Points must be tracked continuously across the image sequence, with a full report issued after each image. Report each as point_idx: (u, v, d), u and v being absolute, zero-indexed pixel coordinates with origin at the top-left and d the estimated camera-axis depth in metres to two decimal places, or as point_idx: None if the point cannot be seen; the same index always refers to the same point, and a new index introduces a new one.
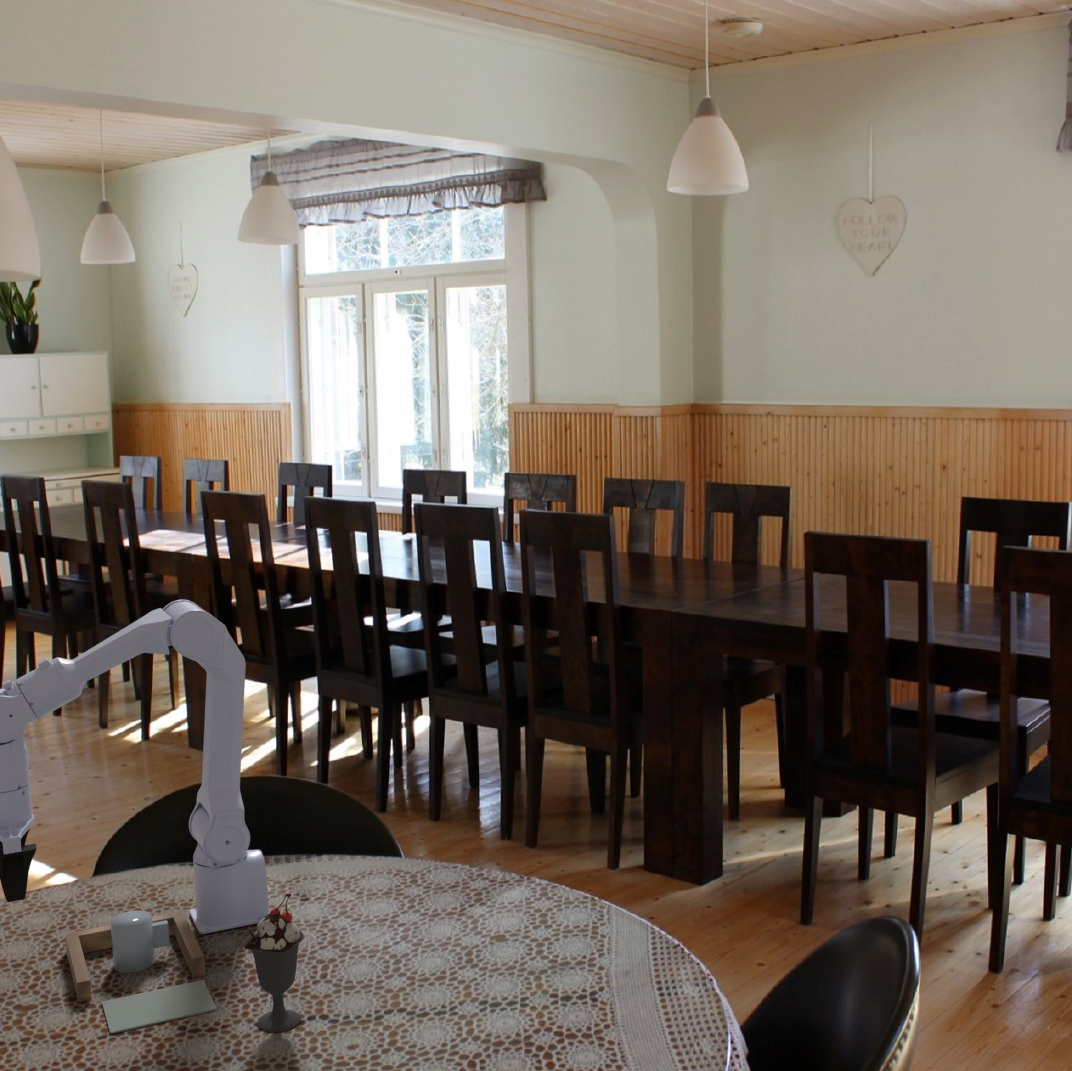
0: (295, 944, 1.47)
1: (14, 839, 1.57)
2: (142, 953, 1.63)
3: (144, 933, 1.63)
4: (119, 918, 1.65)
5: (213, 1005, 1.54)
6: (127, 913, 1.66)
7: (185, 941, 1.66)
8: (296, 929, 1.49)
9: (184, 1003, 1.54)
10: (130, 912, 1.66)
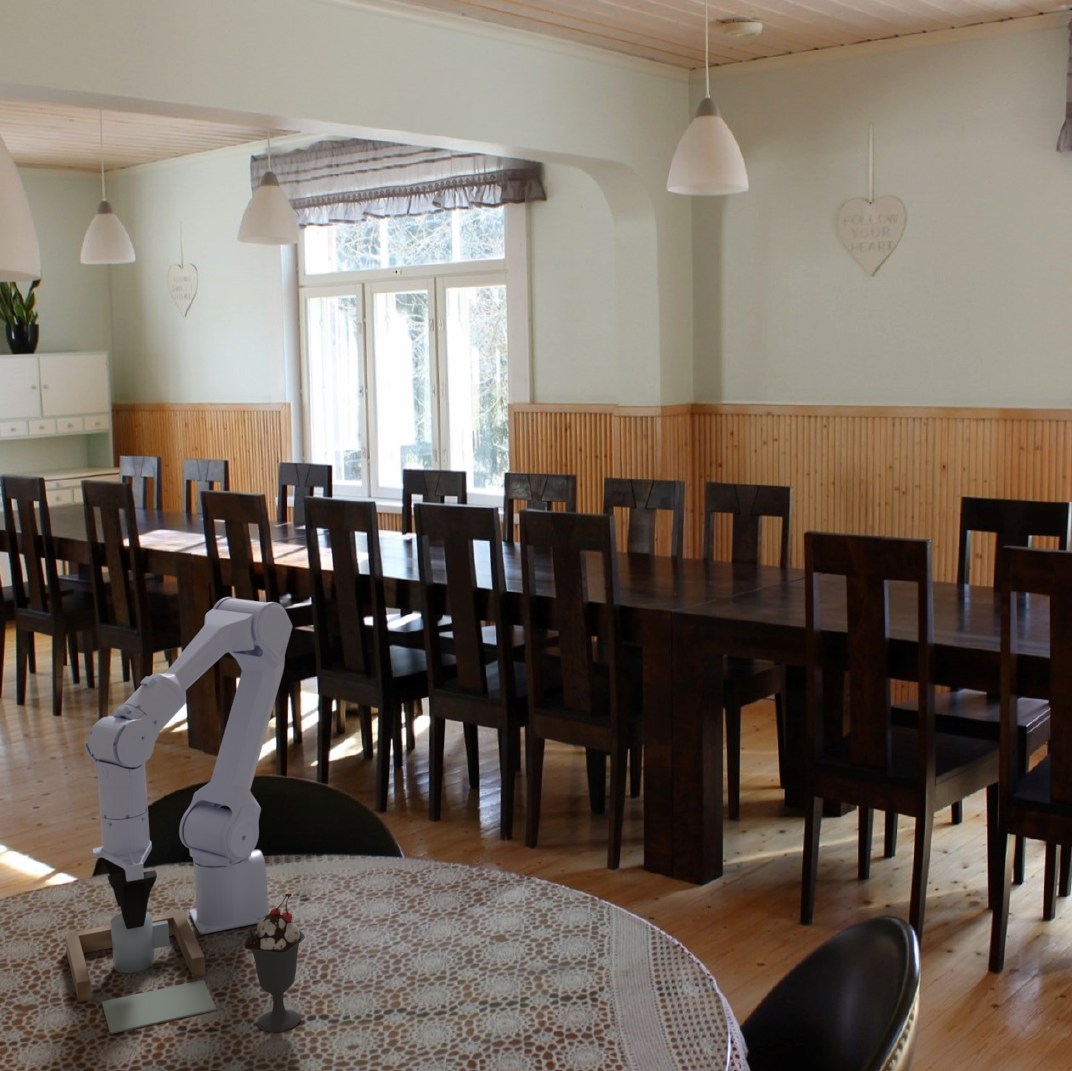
0: (295, 944, 1.47)
1: (137, 866, 1.57)
2: (142, 954, 1.63)
3: (144, 933, 1.63)
4: (119, 918, 1.65)
5: (213, 1005, 1.54)
6: None
7: (185, 941, 1.66)
8: (296, 929, 1.49)
9: (184, 1003, 1.54)
10: None
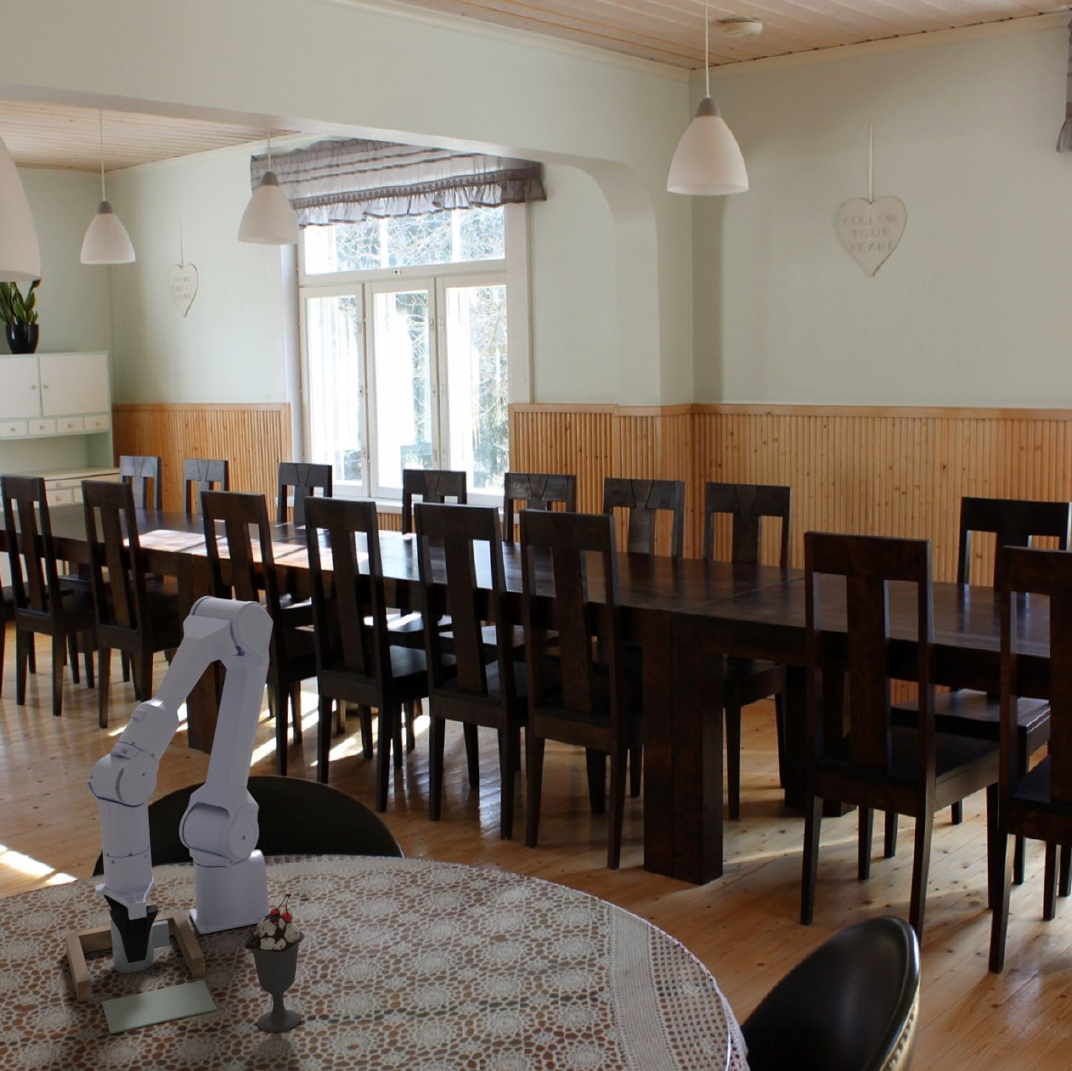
0: (295, 944, 1.47)
1: (140, 904, 1.58)
2: None
3: None
4: None
5: (213, 1005, 1.54)
6: None
7: (185, 941, 1.66)
8: (296, 929, 1.49)
9: (184, 1003, 1.54)
10: None
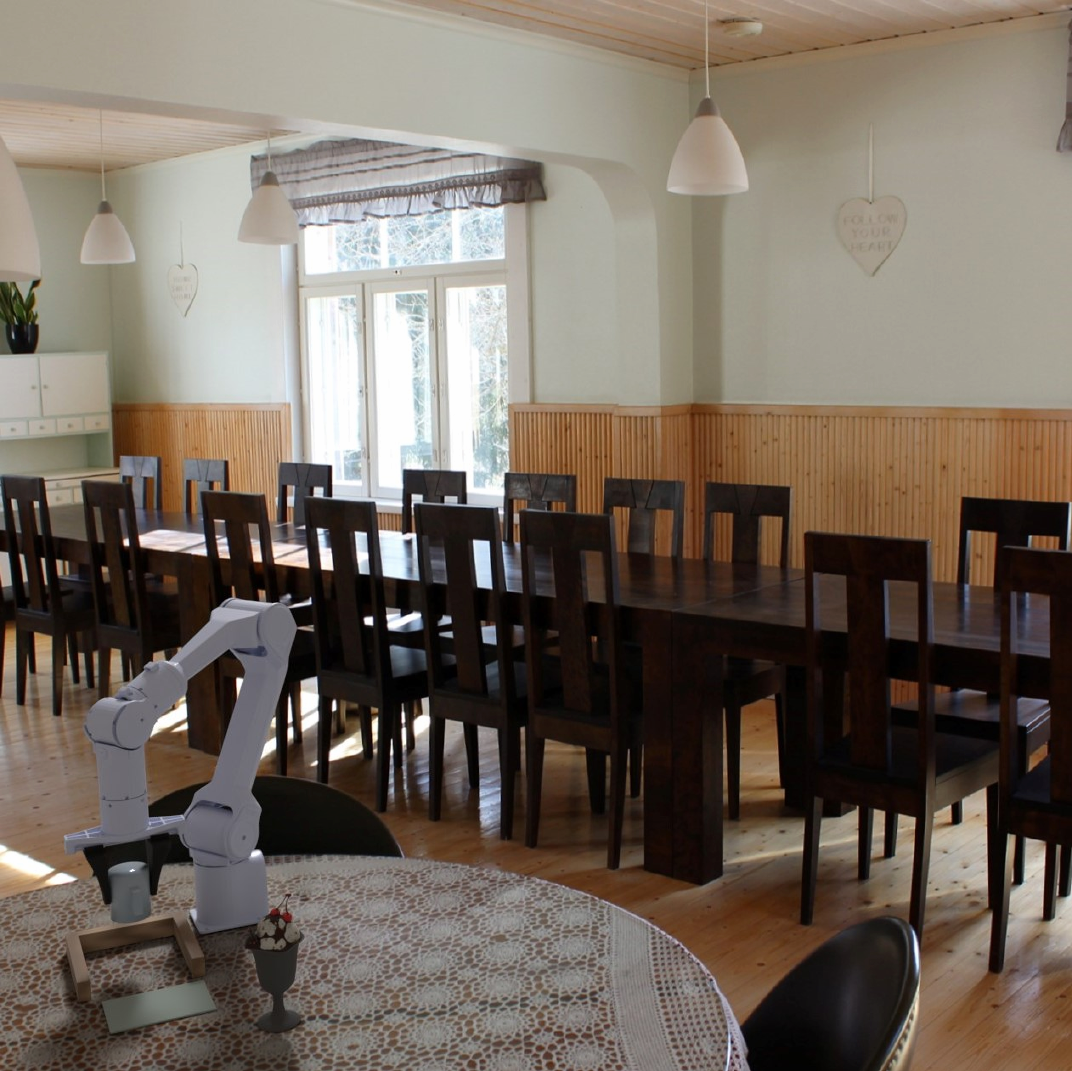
0: (295, 944, 1.47)
1: (65, 840, 1.59)
2: (112, 905, 1.62)
3: (113, 886, 1.61)
4: (131, 864, 1.65)
5: (213, 1005, 1.54)
6: (143, 865, 1.65)
7: (185, 941, 1.66)
8: (296, 929, 1.49)
9: (184, 1003, 1.54)
10: (145, 866, 1.64)
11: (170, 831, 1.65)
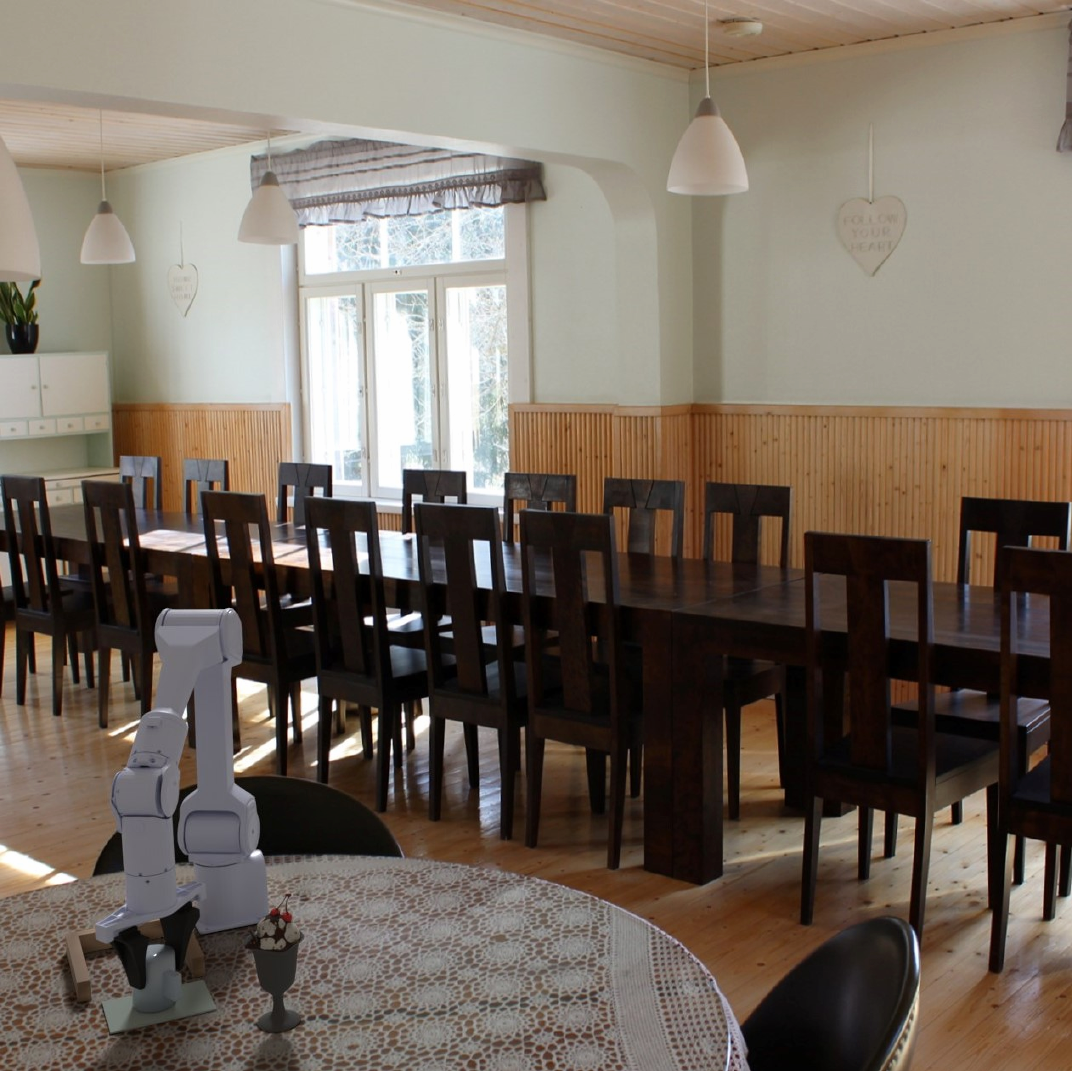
0: (295, 944, 1.47)
1: (102, 928, 1.46)
2: (141, 994, 1.52)
3: None
4: (149, 948, 1.55)
5: (213, 1005, 1.54)
6: (165, 947, 1.55)
7: None
8: (296, 929, 1.49)
9: (184, 1003, 1.54)
10: (167, 948, 1.55)
11: (190, 899, 1.57)
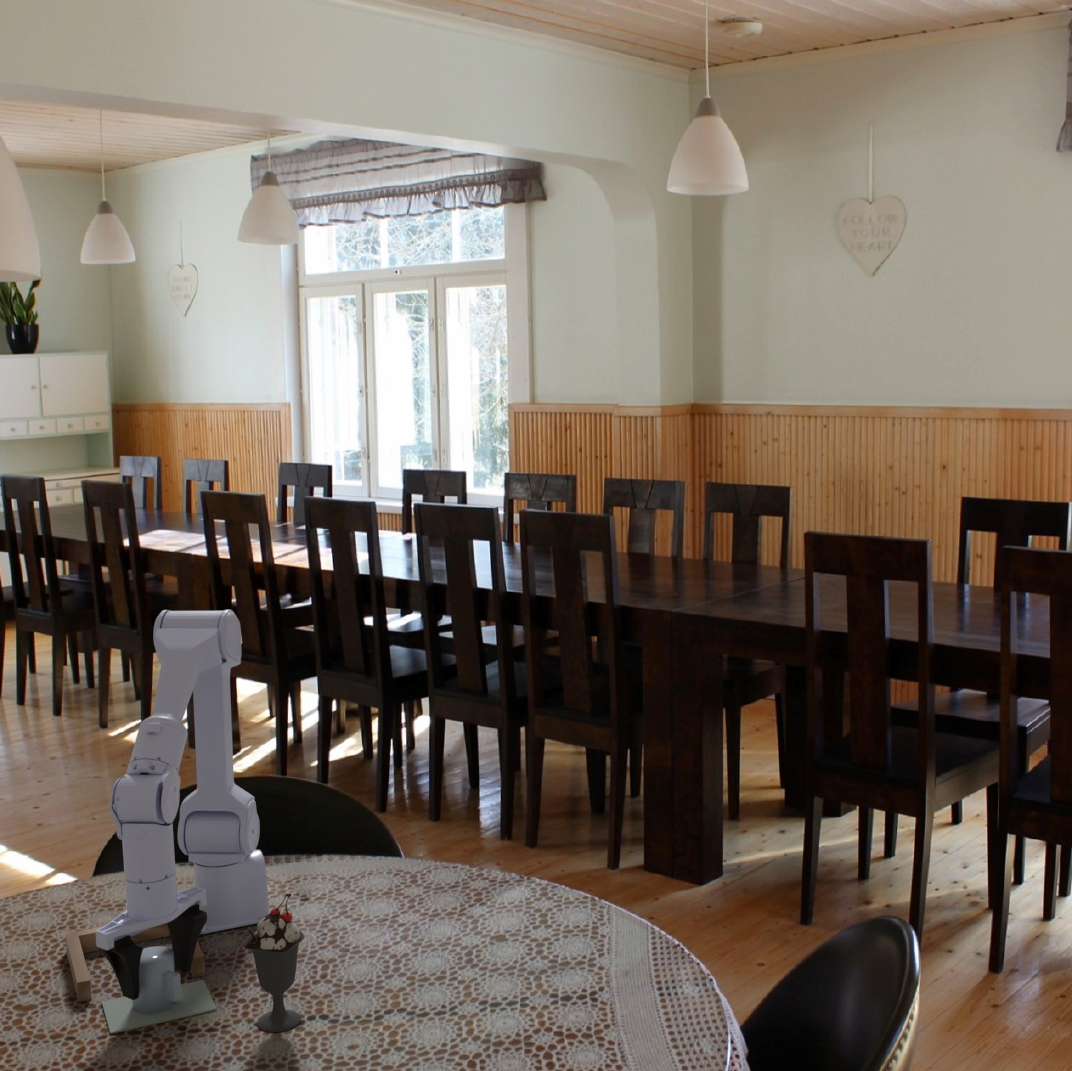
0: (295, 944, 1.47)
1: (102, 935, 1.46)
2: (141, 996, 1.52)
3: (143, 976, 1.51)
4: (148, 950, 1.55)
5: (213, 1005, 1.54)
6: (163, 949, 1.55)
7: None
8: (296, 929, 1.49)
9: (184, 1003, 1.54)
10: (166, 949, 1.55)
11: (191, 905, 1.57)
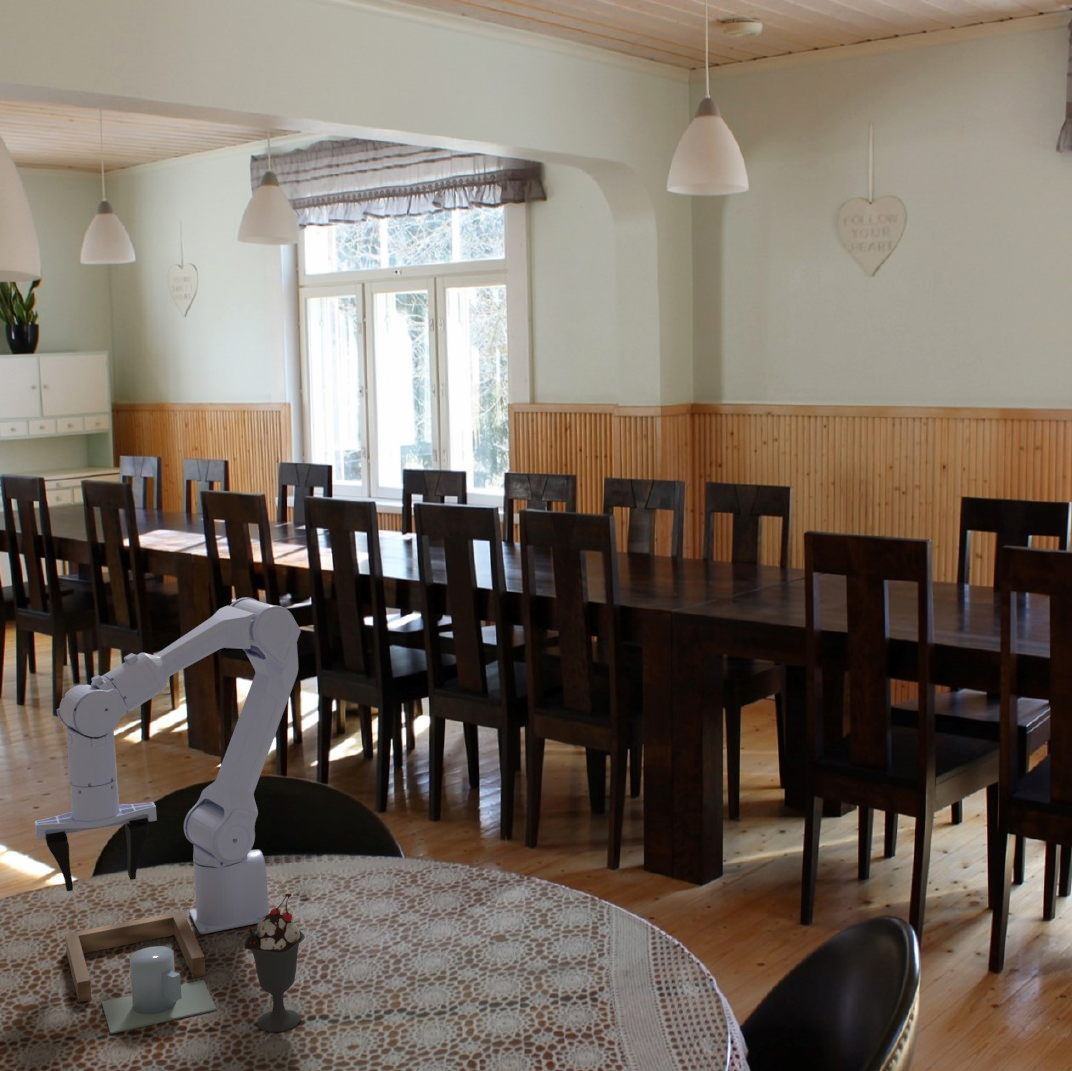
0: (295, 944, 1.47)
1: (35, 825, 1.62)
2: (141, 996, 1.52)
3: (143, 976, 1.51)
4: (148, 950, 1.55)
5: (213, 1005, 1.54)
6: (163, 949, 1.55)
7: (185, 941, 1.66)
8: (296, 929, 1.49)
9: (184, 1003, 1.54)
10: (166, 949, 1.55)
11: (141, 818, 1.67)
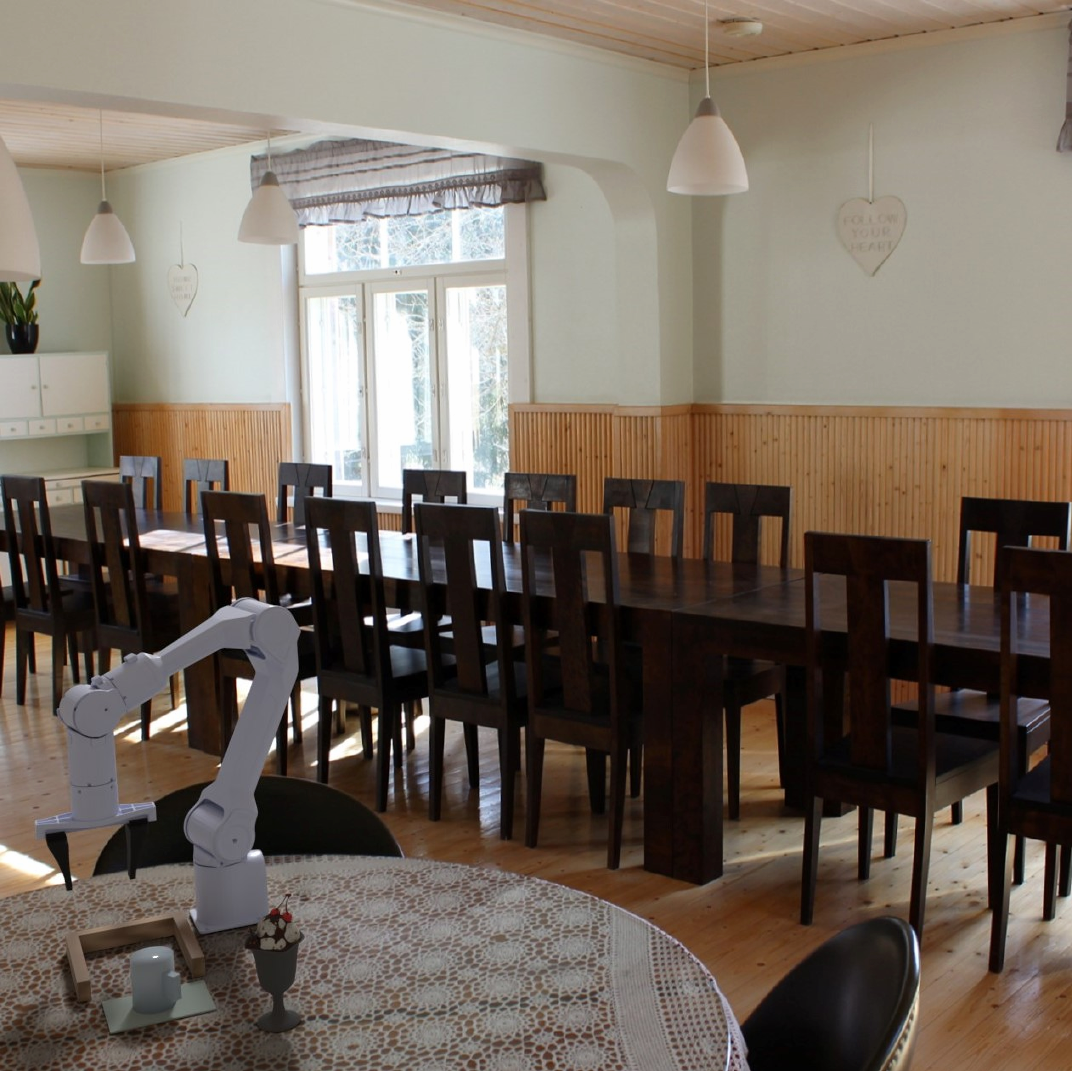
0: (295, 944, 1.47)
1: None
2: (141, 996, 1.52)
3: (143, 976, 1.51)
4: (148, 950, 1.55)
5: (213, 1005, 1.54)
6: (163, 949, 1.55)
7: (185, 941, 1.66)
8: (296, 929, 1.49)
9: (184, 1003, 1.54)
10: (166, 949, 1.55)
11: (140, 818, 1.67)
